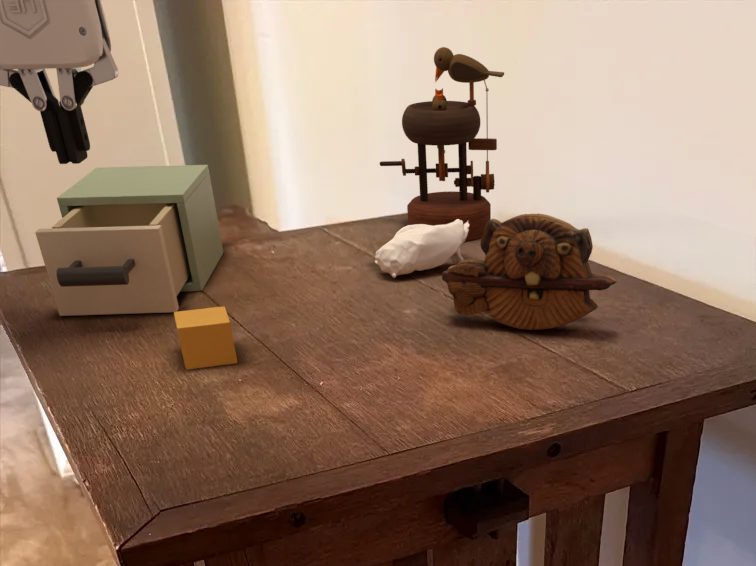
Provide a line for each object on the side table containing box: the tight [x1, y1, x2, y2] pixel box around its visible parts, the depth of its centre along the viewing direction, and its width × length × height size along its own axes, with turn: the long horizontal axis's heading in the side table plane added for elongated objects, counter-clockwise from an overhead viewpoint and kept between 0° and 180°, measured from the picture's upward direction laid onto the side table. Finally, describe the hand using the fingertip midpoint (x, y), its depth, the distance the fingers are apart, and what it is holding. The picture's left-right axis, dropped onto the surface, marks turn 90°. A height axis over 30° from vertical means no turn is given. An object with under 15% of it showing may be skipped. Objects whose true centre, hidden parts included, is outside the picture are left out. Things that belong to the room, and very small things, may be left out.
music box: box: [379, 46, 505, 242], centre depth 110 cm, size 15×11×20 cm
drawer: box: [34, 203, 191, 317], centre depth 91 cm, size 18×11×8 cm, turn 3°
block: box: [173, 306, 238, 371], centre depth 80 cm, size 4×4×4 cm
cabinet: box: [56, 164, 224, 293], centre depth 101 cm, size 15×13×10 cm
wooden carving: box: [441, 213, 617, 331], centre depth 85 cm, size 16×5×10 cm, turn 77°
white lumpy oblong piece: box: [374, 219, 469, 279], centre depth 101 cm, size 5×7×10 cm
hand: (73, 160), depth 80 cm, fingers closed
